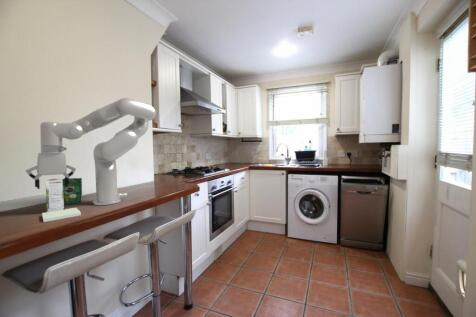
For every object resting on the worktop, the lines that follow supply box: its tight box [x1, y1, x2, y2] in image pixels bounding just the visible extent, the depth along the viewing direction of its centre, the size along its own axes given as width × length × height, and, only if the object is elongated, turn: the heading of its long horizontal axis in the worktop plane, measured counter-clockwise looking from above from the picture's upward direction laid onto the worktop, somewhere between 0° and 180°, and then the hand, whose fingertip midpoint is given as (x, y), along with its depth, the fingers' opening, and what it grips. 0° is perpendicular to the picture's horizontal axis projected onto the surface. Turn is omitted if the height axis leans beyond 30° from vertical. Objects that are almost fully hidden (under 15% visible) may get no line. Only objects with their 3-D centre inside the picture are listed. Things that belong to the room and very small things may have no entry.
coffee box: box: [62, 177, 83, 205], centre depth 115 cm, size 8×3×13 cm, turn 117°
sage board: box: [41, 207, 82, 223], centre depth 94 cm, size 12×11×1 cm
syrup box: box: [45, 178, 65, 212], centre depth 101 cm, size 6×6×14 cm
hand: (52, 187), depth 100 cm, fingers open, 9 cm apart
